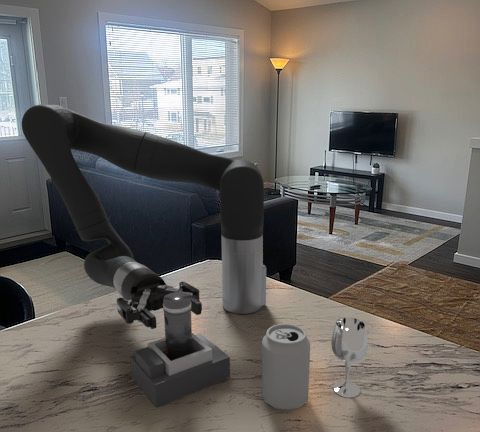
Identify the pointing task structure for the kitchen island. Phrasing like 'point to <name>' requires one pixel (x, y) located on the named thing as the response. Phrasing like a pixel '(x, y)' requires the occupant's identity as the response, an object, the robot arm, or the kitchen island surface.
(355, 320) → the wineglass
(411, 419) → the kitchen island surface
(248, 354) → the kitchen island surface
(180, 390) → the tray on grey base
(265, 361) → the can
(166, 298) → the thermos
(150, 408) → the kitchen island surface
